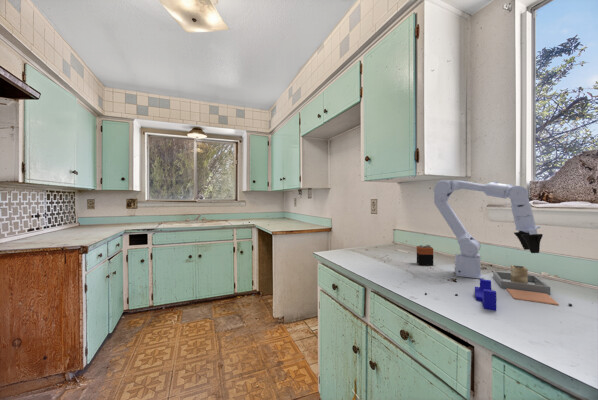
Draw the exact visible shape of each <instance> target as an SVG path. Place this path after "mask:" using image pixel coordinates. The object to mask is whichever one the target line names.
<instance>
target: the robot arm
mask: <svg viewBox="0 0 598 400" xmlns="http://www.w3.org/2000/svg"><path fill="white" fill-rule="evenodd" d="M459 190H470V191H476V192H477V191H478V192H482V193H484V194H485V195H486V196H488V197H493V198H500V199H504V200H505V199H507V198H509V199H510V203H511V205H510V208H511V212H512V217H513V221H514V226H515V231H516V232H515V231H514V232H513V234H514V235H515V237H516V238H517V240H519V242H520V245H521V246H522V248H523V250H526V251H527V250H528V251H529V252H530V253H531V254H540V247H541V246H540V245H541V241H542V238H543V235H544V234H542V233H538V229H541V225H536V221H535V218H534V214H533V209H532V204H531V203H530V199H529V197H528V196H529V191H528V190H527V188H525V187H523V186H520V185H514V184H513V183H509V184H507V183H499V181H493V182H488V183H486V184H484V183H477V182H472V181H465V180H464V181H463V180H459V179H458V180H454V179H453V180H451V179H449V180H447V179H441V180H439V181H437V182H436V183H435V186H434V188H433V196H434V197H433V203H434V205H435V206H436V208H437V210H438V211H439V212H440V214H441V216H442V217H443V219H444V221H445V222H446V224H448V227H449V228H450V229H451V232H452V233H453V235H455V237H456V240H457V243H458V244H459V251H460V253H455V255H454V273H455V275H456V276H457V277H464V278H471V279H479V280H480V279H484V277H483V274H482V273H481V271H482V266H481V263H482V261H481V259H482V257H481V254H480V253H479V251H480V250H481V243H480V241H478V240H477V239H475V238H474V237H473V235H471V234H470V233H469V232H468V230H467V228H466V227H465V226H464V224H463V223H462V221H461V220H460V218H459V217H458V215H457V214H456V212H455V211H454V209H453V208H452V206H450V203H449V198H450V196H451V194H453V192H455V191H459Z"/></svg>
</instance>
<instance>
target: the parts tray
mask: <svg viewBox="0 0 598 400" xmlns="http://www.w3.org/2000/svg"><path fill="white" fill-rule="evenodd" d="M492 277H493V279H494V280H495V281H496V282H497V284H498V285H499V287H500V288H501V289H506V288H507V289H515V290H522V291H530V292H538V293H545V294H548V295H551V286H550V285H549V284H547V282H545V281H544V280H542V279H541V278H539V277H538V276H537V275H534V274H528V282H531V283H528V284H525V283H516V282H511V281H507V280H511V272H506V271H495V270H493V271H492ZM503 279H505V280H503ZM533 283H534V284H533ZM507 289H506V290H507Z"/></svg>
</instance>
